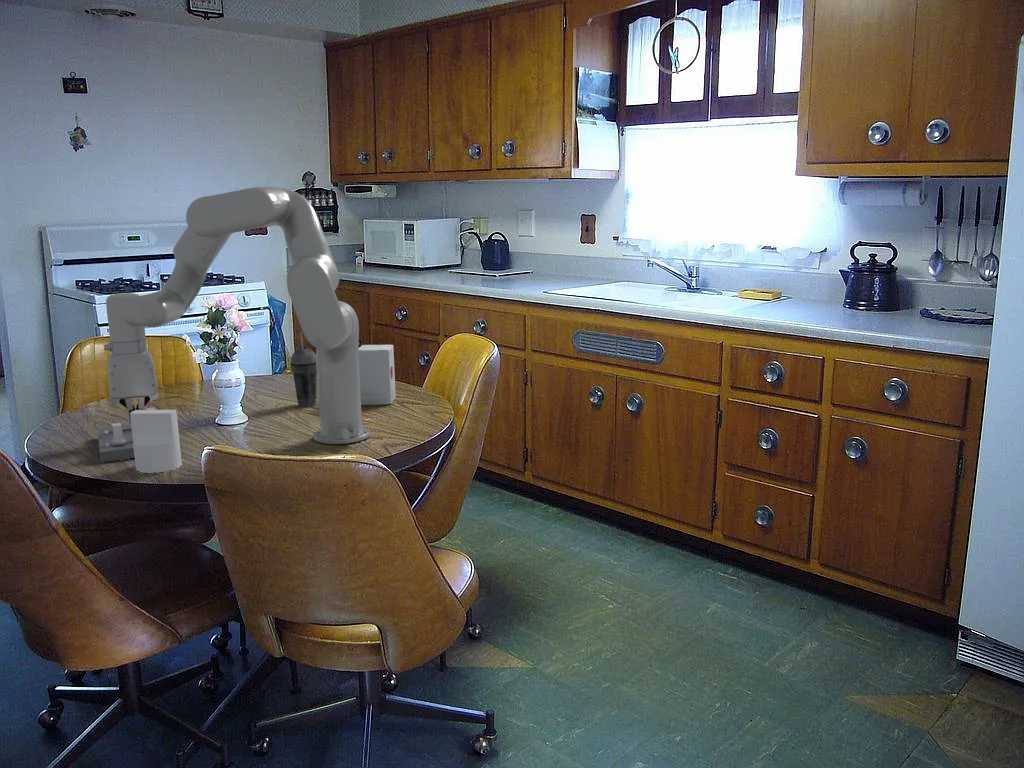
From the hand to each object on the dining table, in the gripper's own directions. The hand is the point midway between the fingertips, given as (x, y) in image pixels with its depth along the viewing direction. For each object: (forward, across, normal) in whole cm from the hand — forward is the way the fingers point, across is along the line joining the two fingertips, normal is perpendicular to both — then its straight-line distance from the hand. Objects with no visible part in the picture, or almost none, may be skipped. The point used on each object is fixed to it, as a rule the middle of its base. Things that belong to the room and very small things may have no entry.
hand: (137, 425), depth 208 cm
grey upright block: (+4, +2, -26) cm, 26 cm away
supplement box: (+4, +61, +9) cm, 61 cm away
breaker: (+1, -5, -12) cm, 13 cm away
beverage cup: (+4, +43, +14) cm, 45 cm away
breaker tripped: (+1, +3, 0) cm, 3 cm away
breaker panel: (+3, 0, -6) cm, 7 cm away
